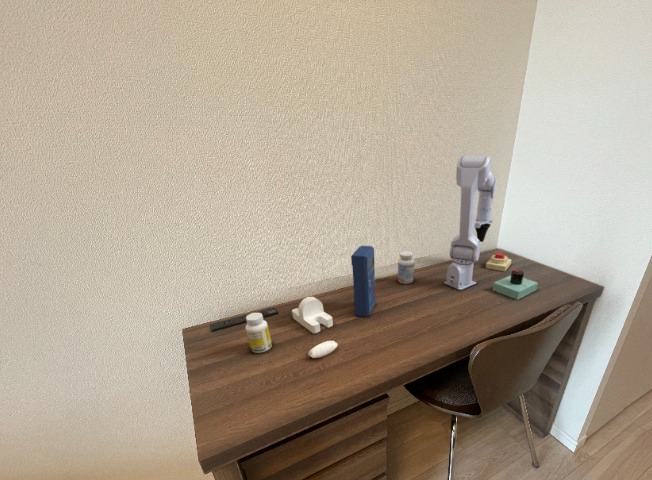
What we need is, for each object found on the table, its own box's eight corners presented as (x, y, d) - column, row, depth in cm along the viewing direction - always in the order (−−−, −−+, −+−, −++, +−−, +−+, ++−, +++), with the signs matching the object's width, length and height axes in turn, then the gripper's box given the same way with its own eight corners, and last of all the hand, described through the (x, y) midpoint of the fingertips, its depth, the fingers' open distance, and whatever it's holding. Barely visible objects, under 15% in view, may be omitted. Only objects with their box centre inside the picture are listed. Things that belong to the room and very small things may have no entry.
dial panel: (517, 299, 109) (519, 291, 107) (492, 290, 116) (493, 282, 114) (536, 290, 115) (538, 282, 114) (511, 281, 122) (513, 273, 121)
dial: (524, 282, 114) (526, 271, 112) (517, 285, 111) (520, 274, 109) (514, 279, 116) (516, 268, 114) (507, 282, 114) (509, 271, 112)
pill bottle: (395, 279, 125) (395, 252, 120) (408, 276, 128) (409, 249, 123) (402, 285, 120) (402, 257, 115) (416, 282, 123) (417, 254, 118)
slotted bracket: (334, 325, 96) (331, 302, 92) (314, 334, 92) (310, 310, 88) (311, 310, 104) (308, 288, 101) (292, 317, 100) (288, 295, 97)
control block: (504, 271, 131) (506, 262, 129) (485, 268, 135) (486, 259, 133) (510, 264, 138) (512, 255, 137) (492, 260, 142) (493, 252, 141)
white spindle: (307, 357, 82) (306, 348, 81) (333, 345, 87) (332, 336, 85) (313, 363, 80) (312, 353, 79) (340, 350, 85) (339, 341, 83)
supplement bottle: (264, 339, 90) (258, 309, 85) (276, 346, 86) (269, 315, 82) (247, 348, 86) (238, 317, 81) (258, 356, 83) (250, 323, 78)
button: (502, 260, 133) (503, 256, 132) (494, 258, 135) (494, 254, 134) (505, 257, 136) (505, 253, 135) (496, 256, 137) (497, 252, 136)
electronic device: (369, 317, 100) (367, 256, 91) (354, 315, 101) (350, 255, 92) (376, 303, 108) (374, 246, 99) (361, 302, 109) (358, 245, 100)
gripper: (489, 212, 122) (484, 247, 128) (499, 206, 133) (494, 238, 139) (471, 211, 126) (467, 244, 132) (482, 204, 136) (478, 236, 142)
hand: (480, 241), depth 136 cm, fingers closed
